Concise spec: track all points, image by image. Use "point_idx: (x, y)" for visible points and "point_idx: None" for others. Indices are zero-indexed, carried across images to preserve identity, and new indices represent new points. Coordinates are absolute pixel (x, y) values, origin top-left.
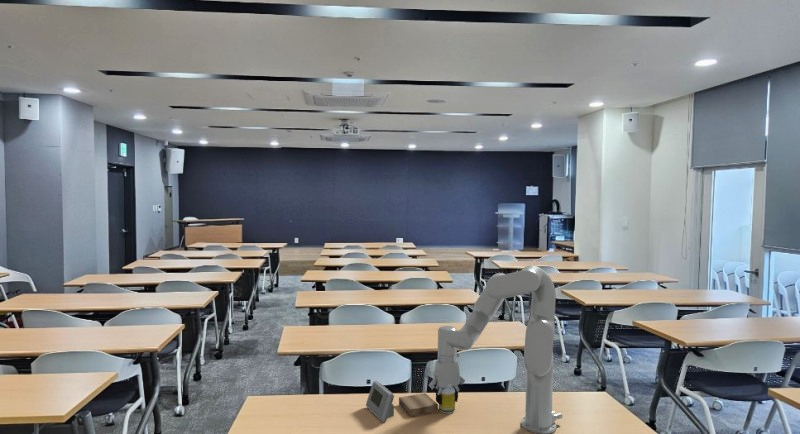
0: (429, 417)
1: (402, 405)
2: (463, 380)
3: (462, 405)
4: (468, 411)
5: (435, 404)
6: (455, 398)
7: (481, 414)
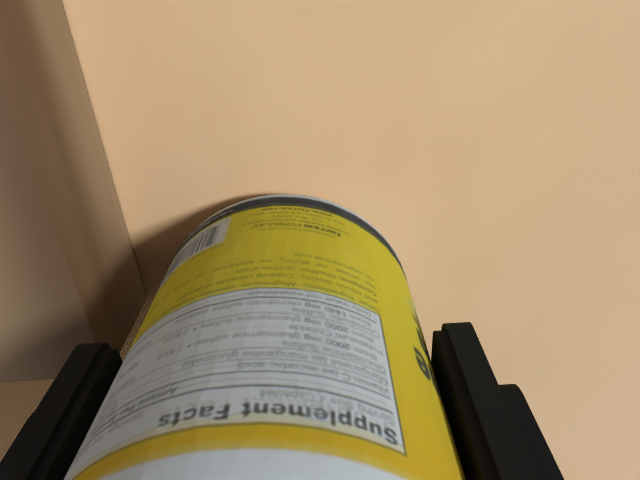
0: (7, 382)
1: None
2: None
3: (597, 211)
4: (544, 375)
5: (63, 361)
6: None
7: (625, 457)
